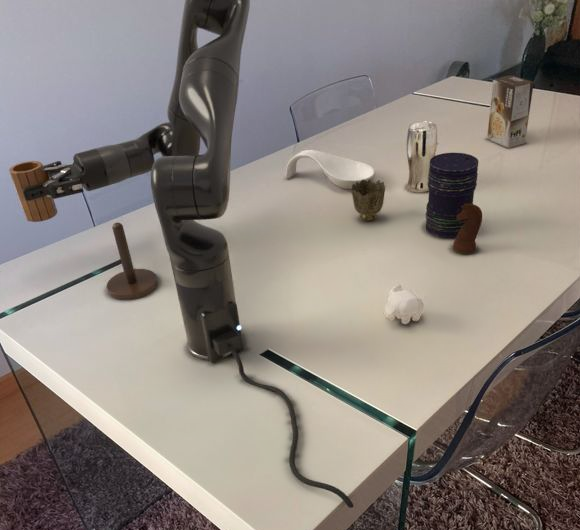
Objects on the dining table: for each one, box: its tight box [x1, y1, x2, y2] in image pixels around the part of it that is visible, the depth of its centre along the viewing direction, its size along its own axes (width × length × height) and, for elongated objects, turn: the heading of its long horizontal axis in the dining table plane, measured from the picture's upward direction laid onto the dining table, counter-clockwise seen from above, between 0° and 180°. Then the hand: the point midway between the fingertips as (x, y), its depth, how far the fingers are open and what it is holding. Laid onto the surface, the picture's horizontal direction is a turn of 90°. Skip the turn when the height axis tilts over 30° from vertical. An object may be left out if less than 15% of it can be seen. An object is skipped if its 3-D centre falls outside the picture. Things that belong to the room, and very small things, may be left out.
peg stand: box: [106, 222, 159, 301], centre depth 124 cm, size 10×10×14 cm
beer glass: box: [406, 120, 438, 194], centre depth 152 cm, size 7×7×15 cm
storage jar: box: [425, 152, 479, 240], centre depth 134 cm, size 10×10×15 cm
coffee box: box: [486, 74, 535, 149], centre depth 171 cm, size 9×6×16 cm
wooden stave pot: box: [8, 160, 58, 223], centre depth 124 cm, size 6×6×10 cm
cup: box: [351, 179, 386, 222], centre depth 142 cm, size 8×7×8 cm
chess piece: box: [452, 203, 483, 256], centre depth 128 cm, size 5×5×10 cm
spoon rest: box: [284, 149, 376, 190], centre depth 161 cm, size 24×12×7 cm, turn 62°
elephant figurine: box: [383, 284, 427, 325], centre depth 111 cm, size 7×8×6 cm
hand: (19, 190), depth 123 cm, fingers closed on wooden stave pot, 6 cm apart
